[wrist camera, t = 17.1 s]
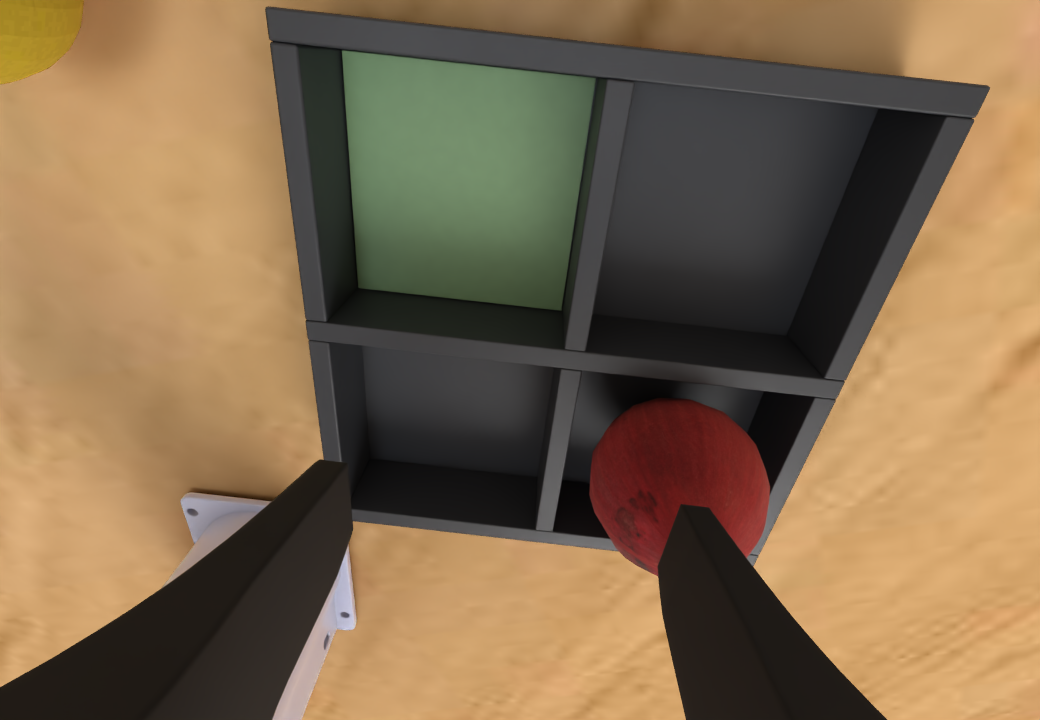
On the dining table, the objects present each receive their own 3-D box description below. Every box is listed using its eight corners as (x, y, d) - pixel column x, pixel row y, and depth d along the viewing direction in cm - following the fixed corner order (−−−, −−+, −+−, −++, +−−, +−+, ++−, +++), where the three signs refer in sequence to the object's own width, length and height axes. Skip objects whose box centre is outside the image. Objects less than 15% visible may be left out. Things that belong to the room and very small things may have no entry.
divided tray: (727, 502, 23) (753, 567, 20) (359, 460, 24) (330, 519, 21) (903, 82, 15) (992, 86, 12) (322, 18, 15) (263, 5, 12)
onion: (617, 488, 23) (643, 673, 16) (561, 391, 20) (563, 559, 13) (748, 445, 21) (842, 630, 14) (703, 334, 19) (790, 491, 12)
